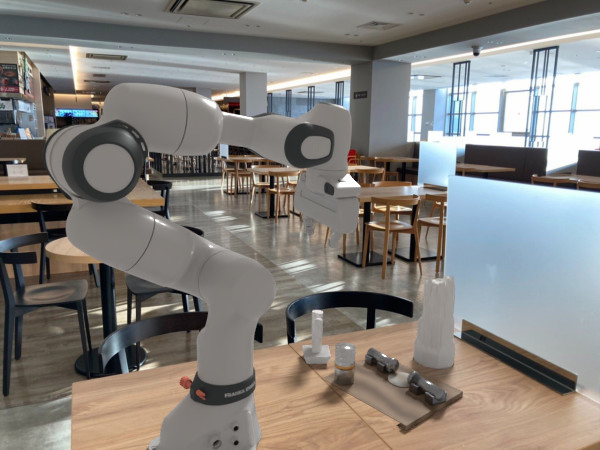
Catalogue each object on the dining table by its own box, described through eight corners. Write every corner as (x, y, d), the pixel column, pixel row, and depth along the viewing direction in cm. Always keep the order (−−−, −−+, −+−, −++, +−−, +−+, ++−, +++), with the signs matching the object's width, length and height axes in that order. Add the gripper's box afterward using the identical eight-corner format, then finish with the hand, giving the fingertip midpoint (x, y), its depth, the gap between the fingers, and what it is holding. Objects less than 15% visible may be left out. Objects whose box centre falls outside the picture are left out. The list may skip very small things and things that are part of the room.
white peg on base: (327, 355, 136) (329, 304, 133) (331, 371, 127) (332, 317, 124) (302, 355, 136) (303, 304, 133) (303, 371, 127) (304, 317, 124)
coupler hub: (344, 388, 116) (345, 353, 115) (329, 380, 120) (330, 346, 118) (358, 381, 120) (360, 347, 118) (344, 373, 123) (345, 340, 122)
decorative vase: (406, 355, 137) (411, 270, 133) (435, 348, 142) (441, 266, 137) (431, 372, 127) (437, 281, 123) (462, 364, 132) (469, 276, 127)
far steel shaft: (399, 372, 125) (400, 357, 124) (386, 376, 122) (387, 361, 122) (377, 358, 132) (377, 344, 131) (364, 361, 130) (364, 347, 129)
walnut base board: (405, 430, 102) (406, 424, 102) (321, 382, 121) (321, 377, 121) (462, 395, 116) (463, 390, 116) (378, 357, 135) (379, 352, 135)
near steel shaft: (405, 388, 116) (406, 373, 116) (419, 384, 119) (420, 368, 118) (433, 406, 109) (434, 390, 108) (447, 401, 111) (448, 385, 110)
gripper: (289, 170, 111) (285, 227, 115) (341, 192, 95) (335, 257, 99) (312, 169, 114) (307, 225, 119) (366, 190, 98) (359, 253, 102)
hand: (320, 240), depth 109 cm, fingers open, 8 cm apart
